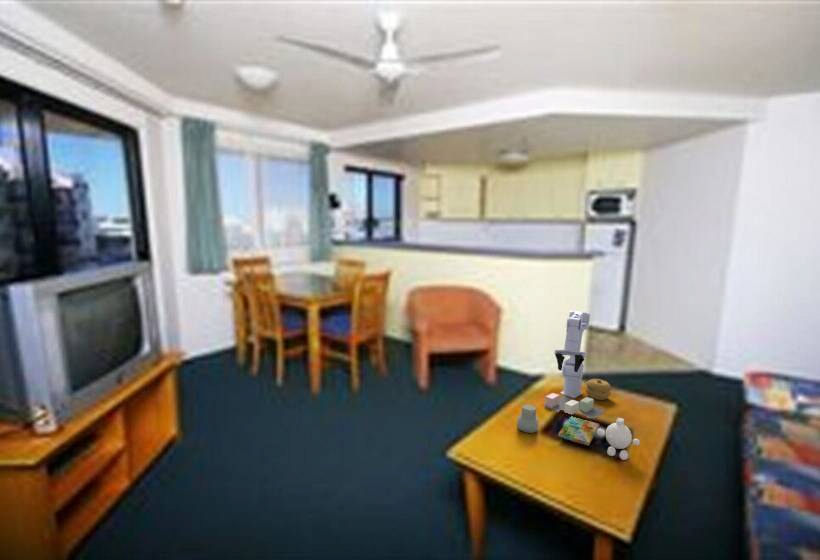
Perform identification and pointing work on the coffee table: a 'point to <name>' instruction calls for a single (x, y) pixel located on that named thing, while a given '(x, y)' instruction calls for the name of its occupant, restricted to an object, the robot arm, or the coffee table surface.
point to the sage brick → (586, 404)
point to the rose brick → (552, 400)
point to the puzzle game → (579, 430)
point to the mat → (590, 414)
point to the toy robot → (618, 438)
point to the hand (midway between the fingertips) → (567, 370)
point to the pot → (598, 389)
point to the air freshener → (528, 419)
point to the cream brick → (571, 407)
